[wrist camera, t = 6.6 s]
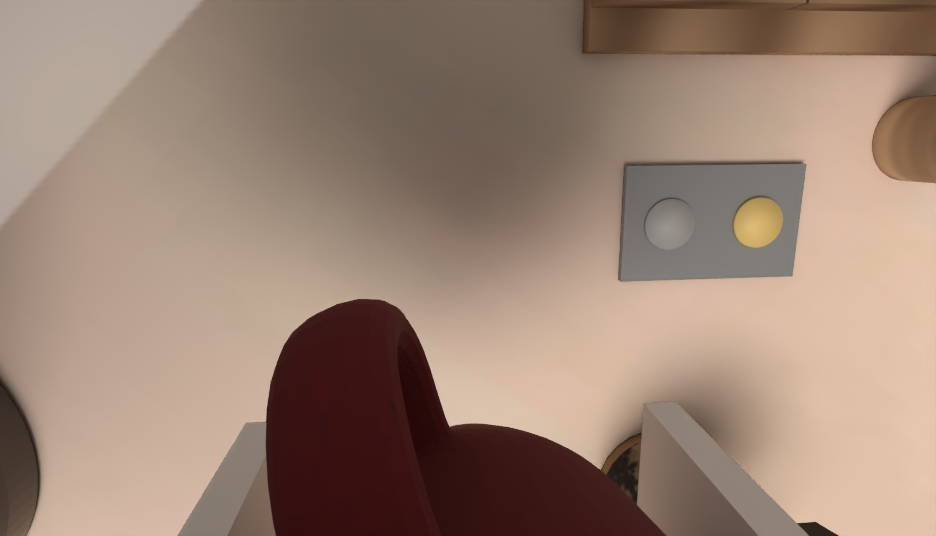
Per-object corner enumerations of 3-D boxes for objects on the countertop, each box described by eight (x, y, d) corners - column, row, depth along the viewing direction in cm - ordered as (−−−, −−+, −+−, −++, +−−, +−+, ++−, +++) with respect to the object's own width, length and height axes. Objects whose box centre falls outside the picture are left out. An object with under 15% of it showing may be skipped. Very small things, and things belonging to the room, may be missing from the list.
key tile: (618, 279, 25) (622, 282, 24) (624, 165, 24) (628, 166, 23) (788, 274, 26) (795, 277, 25) (801, 163, 25) (809, 164, 24)
